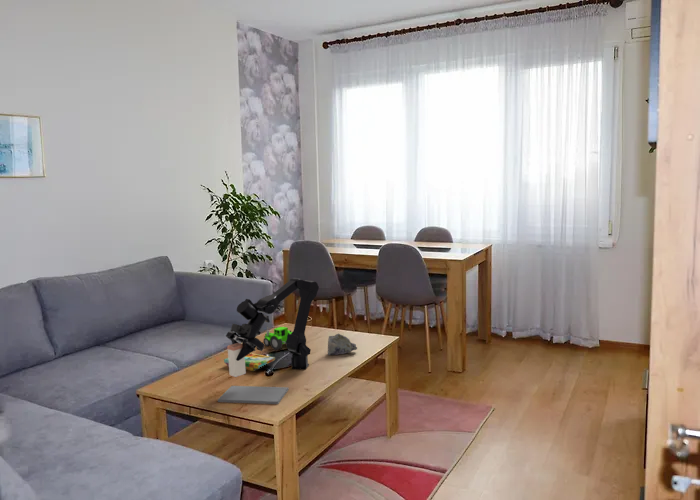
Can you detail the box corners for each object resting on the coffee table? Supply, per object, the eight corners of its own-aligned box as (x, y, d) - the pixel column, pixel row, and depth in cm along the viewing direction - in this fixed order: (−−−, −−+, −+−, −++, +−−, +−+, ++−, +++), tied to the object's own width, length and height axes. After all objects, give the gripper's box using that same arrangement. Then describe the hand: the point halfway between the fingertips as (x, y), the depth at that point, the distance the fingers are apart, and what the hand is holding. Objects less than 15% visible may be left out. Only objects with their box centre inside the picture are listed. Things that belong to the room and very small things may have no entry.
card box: (239, 371, 225) (237, 342, 223) (245, 373, 222) (243, 344, 220) (229, 375, 221) (227, 346, 219) (235, 377, 218) (233, 347, 217)
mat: (288, 389, 221) (288, 387, 221) (278, 404, 208) (278, 401, 208) (231, 388, 226) (231, 385, 225) (217, 402, 212) (217, 399, 212)
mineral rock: (358, 352, 265) (357, 332, 264) (347, 359, 256) (347, 338, 254) (335, 349, 271) (334, 329, 270) (323, 355, 262) (322, 335, 260)
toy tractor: (274, 340, 289) (273, 322, 288) (297, 345, 279) (296, 326, 278) (259, 346, 281) (258, 327, 279) (281, 351, 271) (280, 332, 269)
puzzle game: (241, 349, 261) (274, 355, 251) (242, 359, 262) (275, 365, 251) (223, 357, 251) (258, 363, 241) (224, 367, 252) (258, 374, 241)
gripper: (227, 312, 227) (206, 345, 221) (256, 318, 215) (235, 353, 208) (244, 326, 234) (224, 358, 228) (273, 333, 222) (253, 367, 215)
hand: (233, 359), depth 220 cm, fingers closed on card box, 4 cm apart
